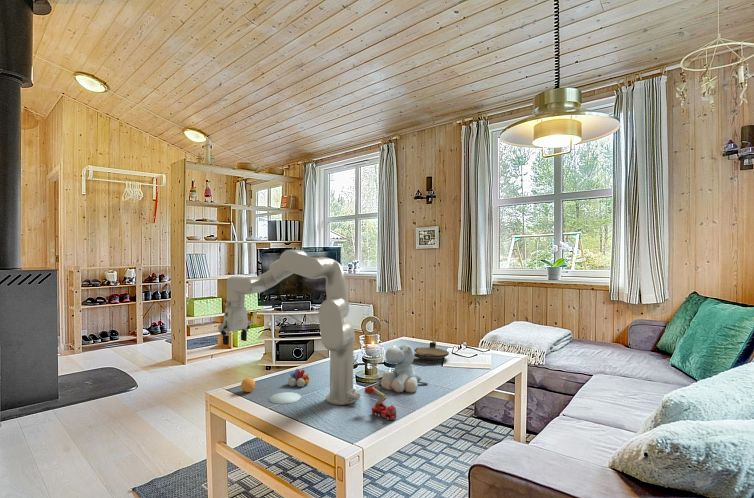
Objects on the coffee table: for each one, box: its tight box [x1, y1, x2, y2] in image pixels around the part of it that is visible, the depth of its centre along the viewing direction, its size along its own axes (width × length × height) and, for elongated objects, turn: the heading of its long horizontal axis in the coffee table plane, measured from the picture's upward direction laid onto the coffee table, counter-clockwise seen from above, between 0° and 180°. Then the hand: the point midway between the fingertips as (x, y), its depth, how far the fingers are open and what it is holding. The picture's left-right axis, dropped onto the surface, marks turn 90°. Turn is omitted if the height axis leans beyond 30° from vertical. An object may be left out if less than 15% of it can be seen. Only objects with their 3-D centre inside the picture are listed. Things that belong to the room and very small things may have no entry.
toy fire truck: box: [364, 385, 397, 421], centre depth 156 cm, size 3×14×10 cm, turn 48°
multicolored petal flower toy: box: [287, 368, 311, 388], centre depth 191 cm, size 8×10×7 cm
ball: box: [240, 377, 256, 393], centre depth 181 cm, size 6×6×6 cm
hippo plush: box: [380, 344, 430, 394], centre depth 188 cm, size 18×23×18 cm
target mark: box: [268, 391, 302, 405], centre depth 173 cm, size 13×13×1 cm
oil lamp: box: [413, 339, 450, 361], centre depth 238 cm, size 22×30×8 cm
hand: (234, 342), depth 186 cm, fingers open, 9 cm apart
